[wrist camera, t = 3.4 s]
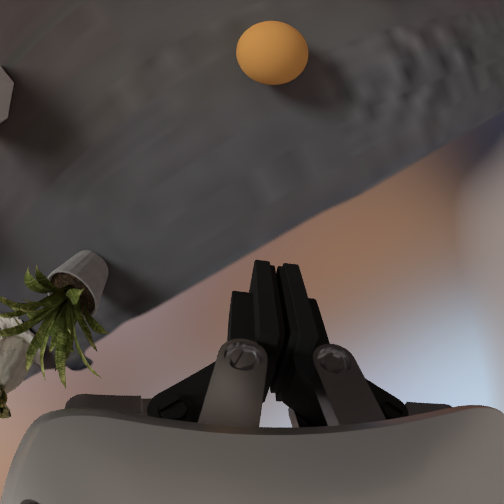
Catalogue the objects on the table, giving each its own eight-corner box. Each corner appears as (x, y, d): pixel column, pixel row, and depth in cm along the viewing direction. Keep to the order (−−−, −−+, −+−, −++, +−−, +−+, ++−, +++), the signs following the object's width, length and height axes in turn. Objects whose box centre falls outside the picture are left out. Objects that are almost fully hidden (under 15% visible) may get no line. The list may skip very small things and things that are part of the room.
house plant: (26, 240, 31) (-45, 315, 17) (85, 188, 28) (-8, 265, 14) (85, 316, 37) (41, 405, 23) (153, 284, 35) (112, 394, 20)
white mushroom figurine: (41, 329, 39) (-4, 411, 23) (48, 368, 45) (17, 440, 29) (-6, 303, 37) (-55, 372, 21) (5, 345, 42) (-30, 408, 26)
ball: (242, 26, 21) (241, 7, 16) (305, 36, 22) (320, 21, 16) (232, 82, 24) (229, 76, 19) (295, 91, 24) (309, 89, 19)
